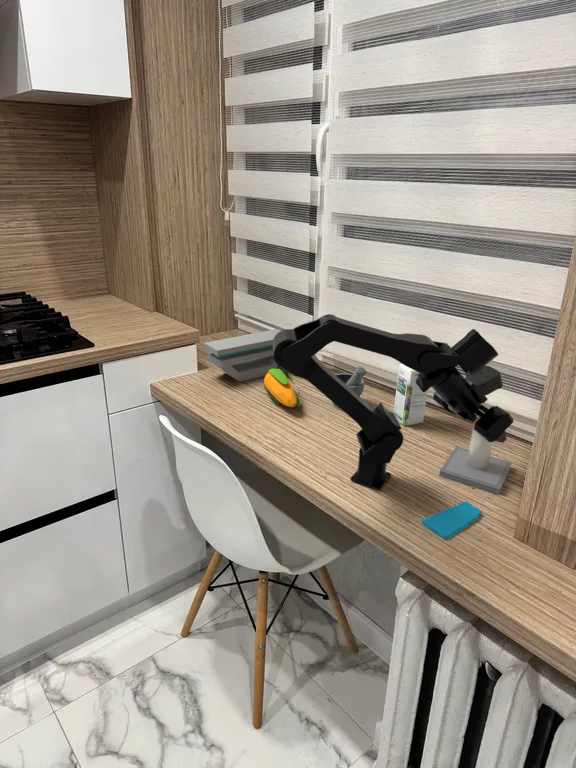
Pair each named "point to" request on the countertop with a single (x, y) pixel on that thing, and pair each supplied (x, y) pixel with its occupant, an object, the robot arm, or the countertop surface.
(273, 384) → the corn
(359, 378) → the mortar and pestle
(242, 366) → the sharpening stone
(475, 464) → the spice jar
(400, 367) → the syrup box
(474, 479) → the slate trivet
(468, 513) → the sponge
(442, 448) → the countertop surface
